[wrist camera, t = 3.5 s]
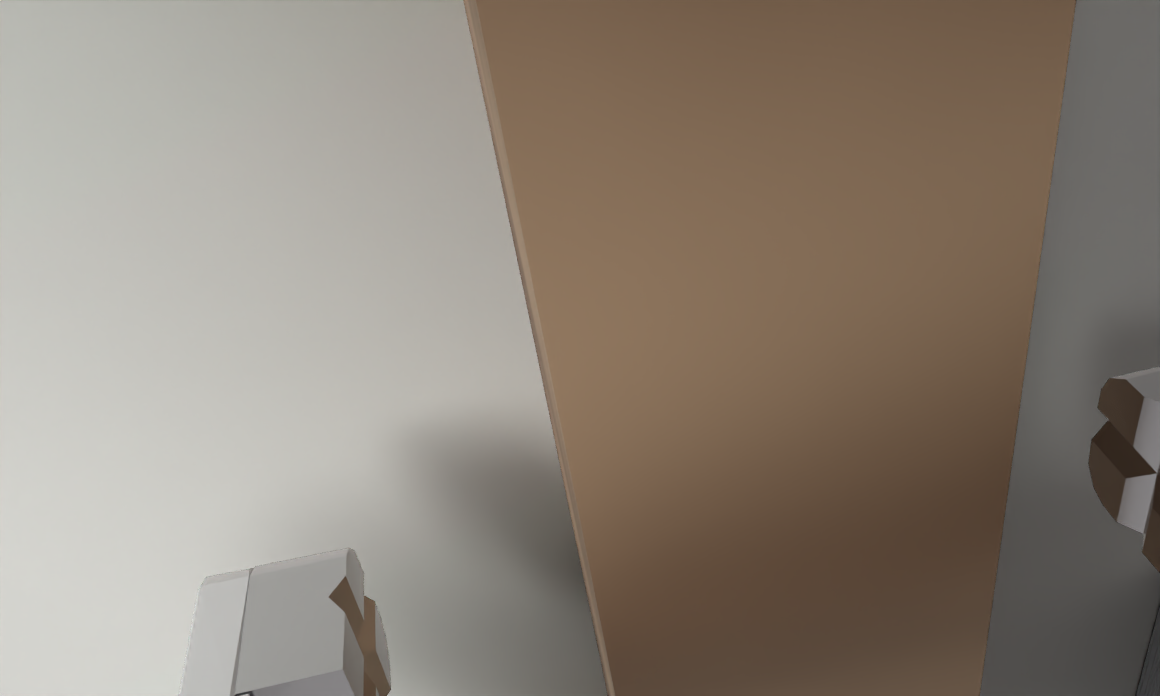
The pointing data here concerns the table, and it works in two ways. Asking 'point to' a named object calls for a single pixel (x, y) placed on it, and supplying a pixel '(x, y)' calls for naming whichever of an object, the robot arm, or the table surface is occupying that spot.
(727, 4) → the rail
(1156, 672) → the cup bracket
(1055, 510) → the table surface
